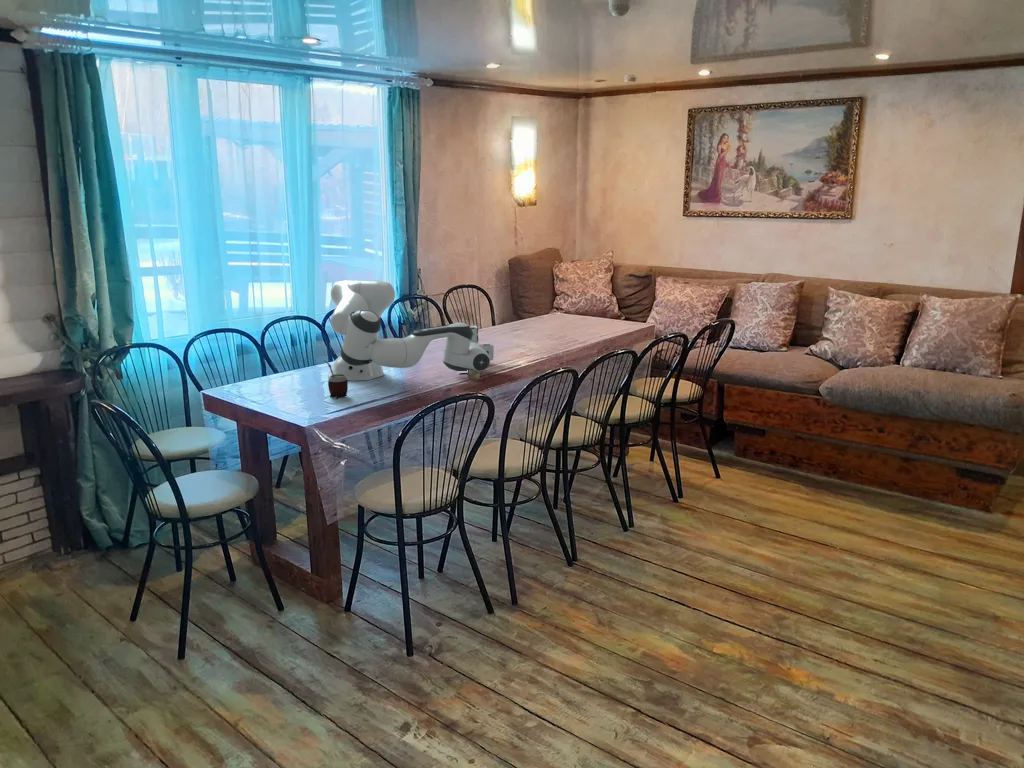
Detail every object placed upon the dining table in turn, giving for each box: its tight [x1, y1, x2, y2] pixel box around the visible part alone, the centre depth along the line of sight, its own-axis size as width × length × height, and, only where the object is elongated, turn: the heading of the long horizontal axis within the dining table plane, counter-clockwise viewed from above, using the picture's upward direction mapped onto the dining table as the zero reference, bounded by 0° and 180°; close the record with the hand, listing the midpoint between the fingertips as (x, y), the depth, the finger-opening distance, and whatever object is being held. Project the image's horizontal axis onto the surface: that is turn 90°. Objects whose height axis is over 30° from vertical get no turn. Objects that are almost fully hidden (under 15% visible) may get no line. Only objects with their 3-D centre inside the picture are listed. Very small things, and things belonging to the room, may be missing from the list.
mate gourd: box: [323, 359, 349, 400], centre depth 282 cm, size 8×8×15 cm
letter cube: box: [467, 369, 480, 380], centre depth 312 cm, size 4×4×4 cm
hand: (466, 346), depth 324 cm, fingers closed on tea tin, 5 cm apart
